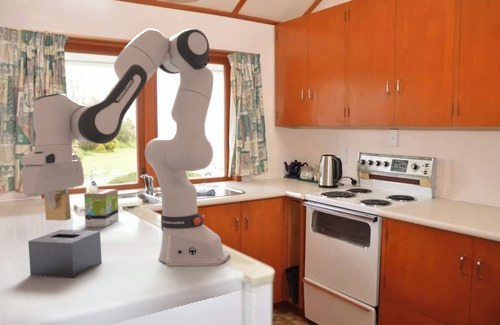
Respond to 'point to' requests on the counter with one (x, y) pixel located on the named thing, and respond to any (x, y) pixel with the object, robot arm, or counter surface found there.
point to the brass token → (59, 208)
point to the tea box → (101, 207)
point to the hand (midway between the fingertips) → (57, 207)
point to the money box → (64, 253)
